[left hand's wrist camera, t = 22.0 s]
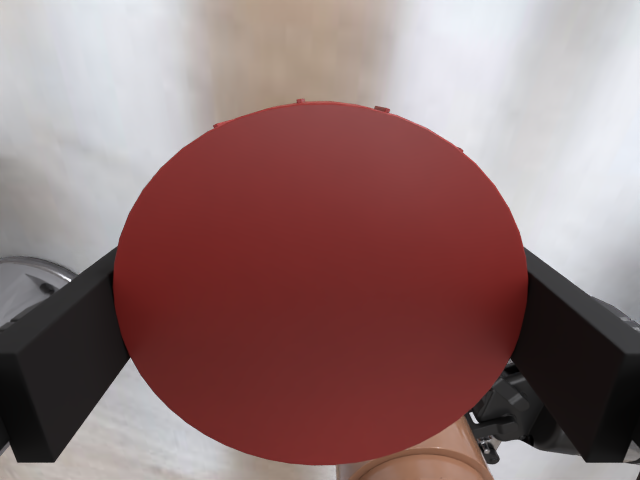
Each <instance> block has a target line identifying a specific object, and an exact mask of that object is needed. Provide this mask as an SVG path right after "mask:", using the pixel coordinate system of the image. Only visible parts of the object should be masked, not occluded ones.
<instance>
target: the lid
mask: <svg viewBox="0 0 640 480" xmlns="http://www.w3.org/2000/svg"><path fill="white" fill-rule="evenodd" d="M389 111H390V109H388V108H384V107H378V106H375V108H374V109H372V108H368V107H364V106H360V105H356V104H348V103H340V102H332V101H317V102H305V99H297V103H293V104H287V105H280V106H276V107H271V108H267V109H264V110H261V111H258V112H254V113H251V114H248V115H244V116H241V117H238V118H235V119H232V120H229V121H225V122H221V123H217V124H215V125H213V127H214V129H212V130H210V131H208V132H206V133H205V134H203V135H202V136H200V137H199V138H197V139H196V140H194V141H193V142H191V143H190V144H188V145H187V146H185V147H184V148H182V149H181V150H180V151H179V152H178V153H177V154H176V155H174V156H173V157H172V158H171V159H170V160H169V161H168V162H167V163H166V164H165V165H163V166H162V167H161V168H160V169H159V171H158V172H157V173H156V174H155V175H154V176H153V178H152V179H151V180H150V182H149V183H148V184H147V185H146V187H145V188H144V189H143V190H142V192H141V194H140V196H139V197H138V199H137V201H136V202H135V204H134V206H133V208H132V209H131V211H130V213H129V215H128V218H127V220H126V223H125V225H124V228H123V230H122V233H121V236H120V238H119V243H118V248H117V252H116V257H115V261H114V275H113V295H114V305H115V310H116V315H117V319H118V323H119V328H120V332H121V336H122V338H123V341H124V343H125V346H126V348H127V351H128V353H129V355H130V357H131V359H132V361H133V362H134V364H135V366H136V368H137V369H138V371H139V373H140V375H141V376H142V377H143V379H144V380H145V381H146V383H147V384H148V385H149V387H150V388H151V389H152V391H153V392H154V393H155V394H156V395H157V396H158V397H159V398H160V399H161V400H162V401H163V402H164V403H165V404H166V406H167V407H168V408H169V409H171V410H172V411H173V412H174V413H175V414H177V415H178V416H179V417H180V418H181V419H183V420H184V421H185V422H186V423H188V424H189V425H191V426H192V427H194V428H195V429H197V430H198V431H200V432H202V433H203V434H205V435H206V436H208V437H210V438H212V439H214V440H216V441H218V442H220V443H222V444H224V445H226V446H228V447H231V448H234V449H236V450H239V451H241V452H244V453H246V454H250V455H254V456H257V457H261V458H264V459H268V460H273V461H279V462H285V463H291V464H303V465H339V464H349V463H357V462H362V461H367V460H372V459H377V458H381V457H384V456H387V455H391V454H394V453H397V452H400V451H403V450H405V449H408V448H410V447H412V446H415V445H417V444H420V443H422V442H423V441H425V440H427V439H429V438H431V437H433V436H435V435H436V434H438V433H440V432H441V431H443V430H444V429H446V428H447V427H449V426H450V425H452V424H453V423H455V422H456V421H457V420H459V419H460V418H461V417H462V416H463V415H465V414H466V413H467V412H468V411H469V410H470V409H471V408H473V407H474V406H475V405H476V404H477V403H478V402H479V401H480V399H481V398H482V397H483V396H484V395H485V394H486V393H487V392H488V391H489V390H490V388H491V387H492V386H493V384H494V383H495V381H496V380H497V379H498V377H499V376H500V374H501V373H502V372H503V370H504V368H505V366H506V364H507V363H508V361H509V359H510V357H511V355H512V353H513V351H514V349H515V346H516V343H517V341H518V338H519V335H520V331H521V327H522V322H523V318H524V313H525V309H526V304H527V294H528V274H527V263H526V256H525V252H524V248H523V244H522V240H521V236H520V232H519V230H518V227H517V225H516V223H515V220H514V218H513V216H512V213H511V211H510V209H509V207H508V205H507V204H506V202H505V201H504V199H503V197H502V196H501V194H500V193H499V191H498V190H497V188H496V186H495V185H494V184H493V183H492V181H491V180H490V179H489V178H488V177H487V176H486V175H485V173H484V172H483V171H482V170H481V169H480V168H479V167H478V165H477V164H476V163H475V162H474V161H472V160H471V159H470V158H469V157H468V156H466V155H465V154H464V153H463V150H462V149H461V148H458V147H456V146H455V145H453V144H452V143H450V142H449V141H447V140H445V139H444V138H442V137H441V136H439V135H437V134H436V133H434V132H432V131H431V130H429V129H428V128H426V127H423V126H421V125H419V124H416V123H414V122H412V121H409V120H407V119H405V118H402V117H400V116H398V115H394V114H390V113H389Z"/></svg>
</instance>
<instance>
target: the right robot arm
mask: <svg viewBox="0 0 640 480" xmlns="http://www.w3.org/2000/svg"><path fill="white" fill-rule="evenodd" d="M470 412H473V414H474V416H475V418H476V420H477V421H478V422H479V424H475V423H474V422H473V421H472V418H471V416H470V414H469V413H470ZM465 417H466V419H467V421H468V424H469V426H470V428H471V430H472V432H473V435H474V437H475V439H476V441H477V443H478V445H479V448H480V450H481V452H482V454H483V456H484V458H485V461H486V463H487V464H496V463H498V462H499V460H500V459H499V456H498V454H497V452H496V450H497V448H498V446H499V445H500V443H501V441H510V440H521V441H523V442H525V443H527V444H529V445H531V446H533V447H534V448H536V449H539V450H543V451H549V452H556V453H563V454H570V455H578V456H581V455H580V454H579V452H578V451H577V449H576V448H575V447H574V445H573V444H572V443H571V441H570V440H569V438H568V437H567V436H566V434H565V433H564V431H563V430H562V429H561V427H560V426H559V425H558V423H557V422H556V420H555V419H554V418H553V416H552V415H551V414H550V412H549V411H548V409H547V408H546V407H545V405H544V404H543V402H542V401H541V400H540V398H539V397H538V396H537V394H536V393H535V391H534V390H533V389H532V387H531V386H530V385H529V383H528V382H527V380H526V379H525V378H524V376H523V375H522V373H521V372H520V371H519V369H518V368H517V367H516V365H515V364H514V362H513V363H510V364H508V365H506V366H505V368H504V370H503V372H502V373H501V374H500V376H499V377H498V379H497V380H496V381H495V383H494V384H493V386H492V387H491V388H490V390H489V391H488V392H487V393H486V394H485V395H484V396H483V397H482V398H481V399H480V401H479V402H478V403H477V404H476V405H475V406H474V407H473V408H471V409H470V410H469V411H468V412H467V413H466V414H465ZM623 462H624V463H630V464H637V465H640V448H639V447H638V446H637V445H636V444H635V443H634V442H633V440H632V441H631V444H630V446H629V449H628V451H627V454H626V456H625V458H624V461H623Z"/></svg>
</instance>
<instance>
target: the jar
mask: <svg viewBox="0 0 640 480" xmlns="http://www.w3.org/2000/svg"><path fill="white" fill-rule="evenodd" d="M336 480H494V478H493V476H492V474H491V472H490V469H489V467H488V465H487V463H486V461H485V458H484V456H483V454H482V452H481V450H480V448H479V445H478V443H477V441H476V439H475V437H474V435H473V432H472V430H471V428H470V426H469V424H468V421H467V419H466V417H465V415H463V416H462V417H461V418H460V419H459V420H457V421H456V422H455V423H453V424H452V425H450V426H449V427H447V428H446V429H444V430H443V431H441V432H440V433H438V434H436V435H435V436H433V437H431V438H429V439H427V440H425V441H423V442H422V443H420V444H417V445H415V446H412V447H410V448H408V449H405V450H403V451H400V452H397V453H394V454H391V455H387V456H384V457H381V458H377V459H372V460H367V461H362V462H357V463H349V464H339V465H336Z"/></svg>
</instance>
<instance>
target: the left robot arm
mask: <svg viewBox="0 0 640 480" xmlns="http://www.w3.org/2000/svg"><path fill="white" fill-rule="evenodd" d="M117 248H118V246H117V247H116V248H114V249H113V250H112V251H110V252H109V253H108V254H106V255H105V256H104V257H102V258H101V259H100V260H98V261H97V262H95V263H94V264H93V265H91V266H90V267H89V268H87V269H86V270H85V271H83V272H82V273H81V274H79V275H78V276H77V275H76V274H74V273H72V272H71V271H69V270H67V269H65V268H63V267H61V266H59V265H56V264H54V263H51V262H48V261H45V260H41V259H37V258H31V257H5V258H1V259H0V456H1V455H2V454H3V452H4V451H5V450H6V449H7V448H8V447H9V445H11V448H12V450H13V453H14V455H15V458H16V460H17V463H54V462H55V461H56V459H57V458H58V457H59V455H60V454H61V453H62V451H63V450H64V448H65V447H66V446H67V444H68V443H69V442H70V440H71V439H72V437H73V436H74V435H75V433H76V432H77V430H78V429H79V428H80V426H81V425H82V424H83V422H84V421H85V419H86V418H87V417H88V415H89V414H90V412H91V411H92V410H93V408H94V407H95V406H96V404H97V403H98V401H99V400H100V399H101V397H102V396H103V395H104V393H105V392H106V390H107V389H108V388H109V386H110V385H111V383H112V382H113V381H114V379H115V378H116V377H117V375H118V374H119V372H120V371H121V370H122V368H123V367H124V366H125V364H126V363H127V361H128V360H129V359H130V355H129V353H128V351H127V348H126V346H125V343H124V341H123V338H122V336H121V332H120V328H119V323H118V319H117V315H116V310H115V305H114V295H113V275H114V261H115V257H116V252H117ZM523 248H524V252H525V256H526V263H527V274H528V294H527V304H526V309H525V313H524V318H523V322H522V327H521V331H520V335H519V338H518V341H517V343H516V346H515V349H514V351H513V353H512V355H511V357H510V358H511V360H512V361H513V362H514V364H515V365H516V367H517V368H518V369H519V371H520V372H521V373H522V375H523V376H524V378H525V379H526V380H527V382H528V383H529V385H530V386H531V387H532V389H533V390H534V391H535V393H536V394H537V396H538V397H539V398H540V400H541V401H542V402H543V404H544V405H545V407H546V408H547V409H548V411H549V412H550V414H551V415H552V416H553V418H554V419H555V420H556V422H557V423H558V425H559V426H560V427H561V429H562V430H563V431H564V433H565V434H566V436H567V437H568V438H569V440H570V441H571V443H572V444H573V445H574V447H575V448H576V449H577V451H578V452H579V454H580V455H581V456H582V458H583V459H584V461H585V462H586V463H623V461H624V458H625V456H626V454H627V451H628V449H629V446H630V444H631V441H632V440H633V442H634V443H635V444H636V445H637V446H638V447H639V448H640V325H639V324H638V323H636V322H635V321H631V320H630V318H629V317H628V316H626V315H625V314H624V313H622V312H621V311H619V310H618V309H617V308H615V307H614V306H612V305H610V304H607V303H605V302H603V301H601V300H599V299H597V298H595V297H592V296H589V295H588V294H586V293H585V292H584V291H582V290H581V289H580V288H578V287H577V286H576V285H574V284H573V283H572V282H570V281H569V280H568V279H566V278H565V277H564V276H562V275H561V274H560V273H558V272H557V271H556V270H554V269H553V268H551V267H550V266H549V265H547V264H546V263H545V262H543V261H542V260H541V259H539V258H538V257H537V256H535V255H534V254H533V253H531V252H530V251H529V250H527V249H526V248H525V247H523ZM636 480H640V472H639V475H638V477H637V479H636Z"/></svg>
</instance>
